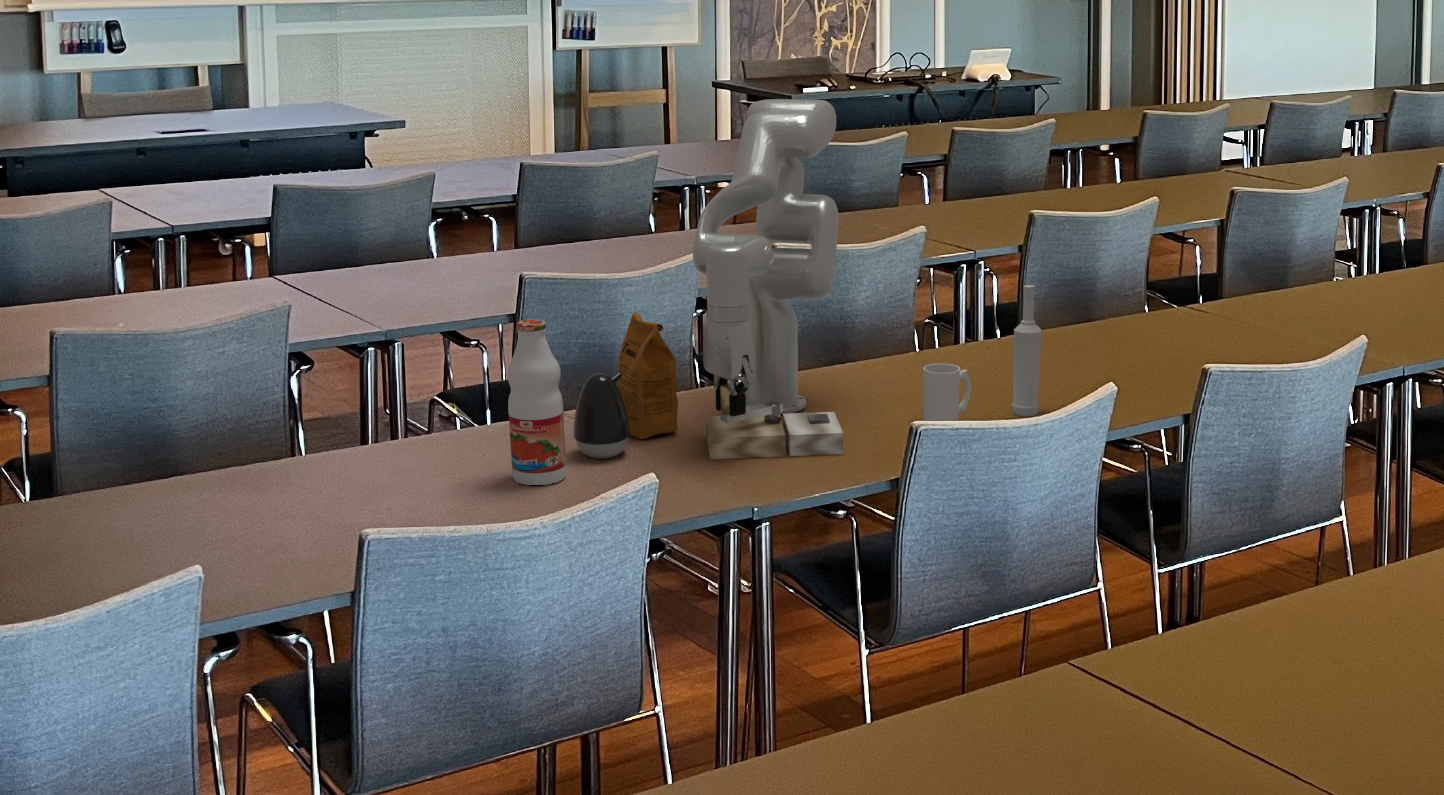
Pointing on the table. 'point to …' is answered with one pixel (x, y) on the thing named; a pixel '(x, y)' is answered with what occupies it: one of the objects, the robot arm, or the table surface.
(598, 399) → the pump dispenser
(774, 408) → the bar
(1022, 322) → the bottle
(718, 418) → the stone-look twin blocks
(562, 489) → the table surface
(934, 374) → the mug
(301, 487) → the table surface
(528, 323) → the fruit juice
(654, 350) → the coffee package
